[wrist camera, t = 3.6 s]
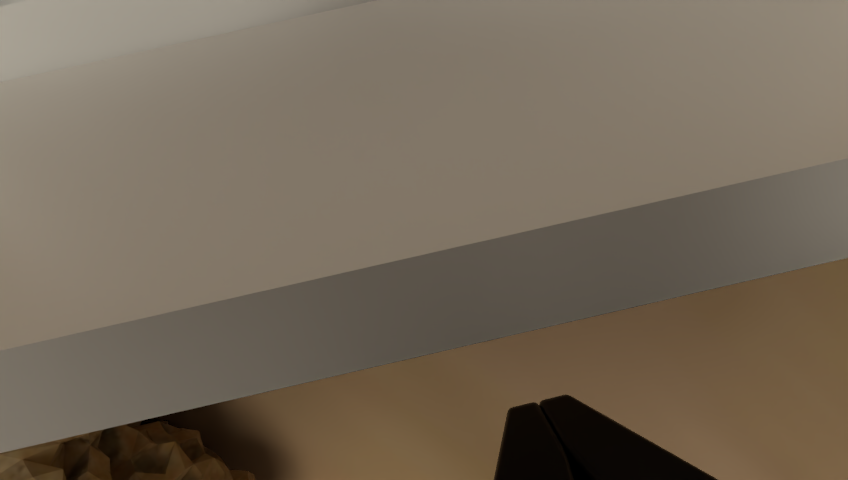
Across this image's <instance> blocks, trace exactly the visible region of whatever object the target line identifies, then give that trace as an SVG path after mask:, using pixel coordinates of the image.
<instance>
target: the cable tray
mask: <svg viewBox="0 0 848 480" xmlns="http://www.w3.org/2000/svg"><path fill="white" fill-rule="evenodd" d="M371 1H376V0H0V82H4V81H8V80H13V79H18V78H22V77H27V76H31V75H36V74H41V73H45V72H50V71H54V70H59V69H64V68H68V67H73V66H77V65H82V64H87V63H91V62H96V61H100V60H105V59H109V58H114V57H119V56H123V55H128V54H132V53H137V52H142V51H146V50H151V49H155V48H160V47H165V46H169V45H174V44H178V43H183V42H188V41H192V40H197V39H201V38H206V37H210V36H215V35H220V34H224V33H229V32H233V31H238V30H243V29H247V28H252V27H256V26H261V25H266V24H270V23H275V22H279V21H284V20H289V19H293V18H298V17H302V16H307V15H311V14H316V13H321V12H325V11H330V10H334V9H339V8H344V7H348V6H353V5H357V4H362V3H367V2H371Z"/></svg>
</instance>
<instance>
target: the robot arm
mask: <svg viewBox="0 0 848 480" xmlns="http://www.w3.org/2000/svg"><path fill="white" fill-rule="evenodd" d="M494 480H718V479H716V478H714V477H712V476H711V475H709V474H707V473H705V472H704V471H702V470H700V469H698V468H696V467H695V466H693V465H691V464H689V463H688V462H686V461H684V460H682V459H681V458H679V457H677V456H675V455H674V454H672V453H670V452H668V451H667V450H665V449H663V448H661V447H659V446H658V445H656V444H654V443H652V442H651V441H649V440H647V439H645V438H644V437H642V436H640V435H638V434H637V433H635V432H633V431H631V430H630V429H628V428H626V427H624V426H623V425H621V424H619V423H617V422H615V421H614V420H612V419H610V418H608V417H607V416H605V415H603V414H601V413H600V412H598V411H596V410H594V409H593V408H591V407H589V406H587V405H586V404H584V403H582V402H580V401H578V400H577V399H575V398H573V397H571V396H569V395H562V396H558V397H554V398H550V399H545V400H542V401H541V402H540V404H539V405H538V404H537V403H529V404H525V405H520V406H516V407H512V408H510V409H509V410H508V413H507V417H506V422H505V427H504V432H503V437H502V442H501V447H500V452H499V457H498V462H497V467H496V472H495V477H494Z"/></svg>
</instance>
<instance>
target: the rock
mask: <svg viewBox="0 0 848 480" xmlns="http://www.w3.org/2000/svg"><path fill="white" fill-rule="evenodd" d="M140 424H141V421H138V422H133V423H129V424H125V425H120V426H116V427H112V428H107V429H103V430H99V431H94V432H90V433H86V434H81V435H77V436H73V437H68V438H64V439H60V440H55V441H51V442H47V443H42V444H38V445H34V446H29V447H25V448H20V449H16V450H12V451H7V452H3V453H0V480H255V475H254V474H252V473H250V472H248V471H243V470H229V469H228V467H227V466H226V465H225V463H224V462H223V460H222V459H221V457H220V456H218V455H217V454H215V453H214V452H212V451H211V450H209V449H208V448H206V447H204V446H203V444H202V440H201V436H200V433H199V431H197V430H190V429H183V428H180V429H178V428H176V427H173V426H170V425H168V421H164V422H160V421H158V422H153V423H149V424H145V425H140Z"/></svg>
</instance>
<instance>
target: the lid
mask: <svg viewBox="0 0 848 480" xmlns="http://www.w3.org/2000/svg"><path fill="white" fill-rule="evenodd" d="M845 258H848V0H376V1H371V2H367V3H362V4H357V5H353V6H348V7H344V8H339V9H334V10H330V11H325V12H321V13H316V14H311V15H307V16H302V17H298V18H293V19H289V20H284V21H279V22H275V23H270V24H266V25H261V26H256V27H252V28H247V29H243V30H238V31H233V32H229V33H224V34H220V35H215V36H210V37H206V38H201V39H197V40H192V41H188V42H183V43H178V44H174V45H169V46H165V47H160V48H155V49H151V50H146V51H142V52H137V53H132V54H128V55H123V56H119V57H114V58H109V59H105V60H100V61H96V62H91V63H87V64H82V65H77V66H73V67H68V68H64V69H59V70H54V71H50V72H45V73H41V74H36V75H31V76H27V77H22V78H18V79H13V80H8V81H4V82H0V453H3V452H7V451H12V450H16V449H20V448H25V447H29V446H34V445H38V444H42V443H47V442H51V441H55V440H60V439H64V438H68V437H73V436H77V435H81V434H86V433H90V432H94V431H99V430H103V429H107V428H112V427H116V426H120V425H125V424H129V423H133V422H138V421H142V420H146V419H151V418H155V417H159V416H164V415H168V414H172V413H177V412H181V411H185V410H190V409H194V408H198V407H203V406H207V405H211V404H216V403H220V402H224V401H229V400H233V399H237V398H242V397H246V396H250V395H255V394H259V393H263V392H268V391H272V390H276V389H281V388H285V387H289V386H294V385H298V384H303V383H307V382H311V381H316V380H320V379H324V378H329V377H333V376H337V375H342V374H346V373H350V372H355V371H359V370H363V369H368V368H372V367H376V366H381V365H385V364H389V363H394V362H398V361H402V360H407V359H411V358H415V357H420V356H424V355H428V354H433V353H437V352H441V351H446V350H450V349H454V348H459V347H463V346H467V345H472V344H476V343H480V342H485V341H489V340H493V339H498V338H502V337H506V336H511V335H515V334H519V333H524V332H528V331H532V330H537V329H541V328H546V327H550V326H554V325H559V324H563V323H567V322H572V321H576V320H580V319H585V318H589V317H593V316H598V315H602V314H606V313H611V312H615V311H619V310H624V309H628V308H632V307H637V306H641V305H645V304H650V303H654V302H658V301H663V300H667V299H671V298H676V297H680V296H684V295H689V294H693V293H697V292H702V291H706V290H710V289H715V288H719V287H723V286H728V285H732V284H736V283H741V282H745V281H749V280H754V279H758V278H762V277H767V276H771V275H775V274H780V273H784V272H788V271H793V270H797V269H801V268H806V267H810V266H815V265H819V264H823V263H828V262H832V261H836V260H841V259H845Z"/></svg>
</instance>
